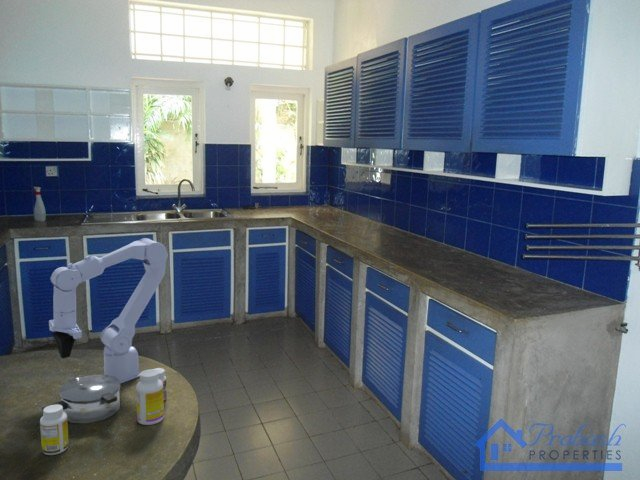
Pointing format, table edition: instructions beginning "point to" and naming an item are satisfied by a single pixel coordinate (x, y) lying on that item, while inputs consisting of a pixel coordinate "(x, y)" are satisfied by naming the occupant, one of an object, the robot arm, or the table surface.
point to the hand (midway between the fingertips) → (65, 356)
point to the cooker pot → (89, 410)
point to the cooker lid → (91, 389)
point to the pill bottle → (163, 379)
